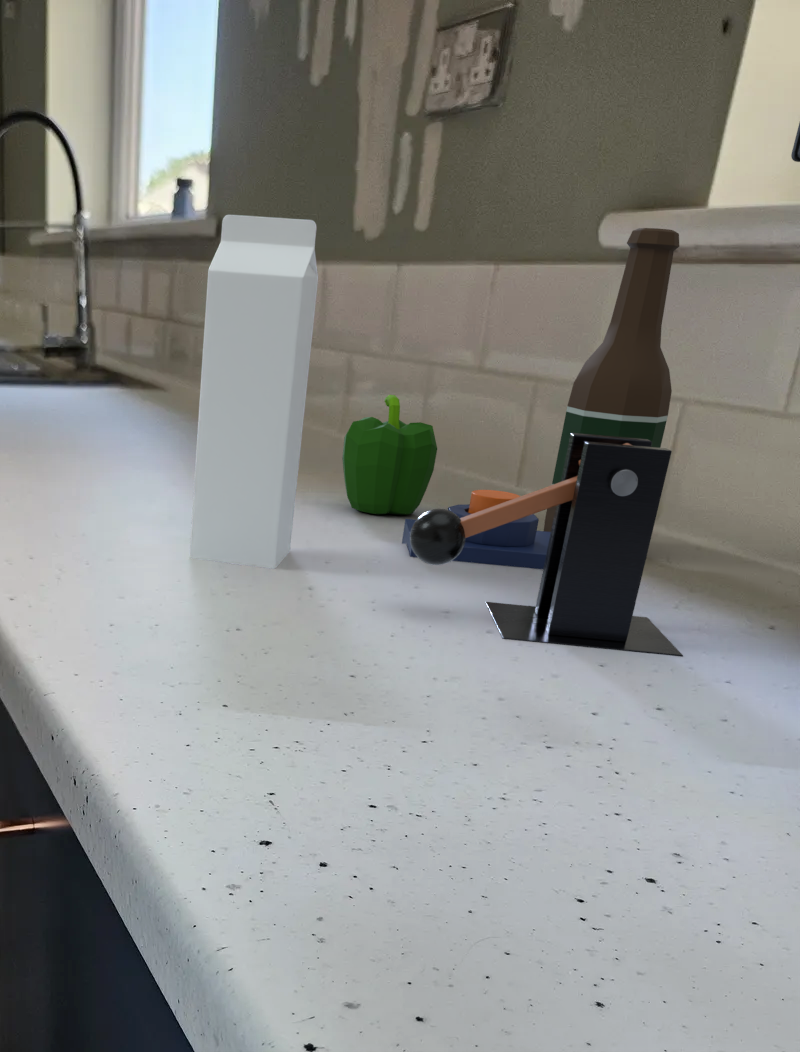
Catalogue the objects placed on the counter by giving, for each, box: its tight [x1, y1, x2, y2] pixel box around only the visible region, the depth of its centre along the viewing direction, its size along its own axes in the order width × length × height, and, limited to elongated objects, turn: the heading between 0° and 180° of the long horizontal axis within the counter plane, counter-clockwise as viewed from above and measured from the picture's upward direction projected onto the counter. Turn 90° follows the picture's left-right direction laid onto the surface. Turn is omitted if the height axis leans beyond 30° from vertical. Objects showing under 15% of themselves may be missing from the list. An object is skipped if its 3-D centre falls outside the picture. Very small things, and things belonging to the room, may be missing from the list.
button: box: [468, 489, 521, 514], centre depth 84 cm, size 4×4×2 cm
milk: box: [188, 214, 319, 570], centre depth 74 cm, size 6×6×22 cm
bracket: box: [485, 433, 684, 658], centre depth 65 cm, size 10×8×12 cm
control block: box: [401, 503, 551, 570], centre depth 85 cm, size 12×9×4 cm
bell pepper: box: [341, 394, 438, 516], centre depth 101 cm, size 8×8×10 cm
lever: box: [410, 443, 631, 566], centre depth 64 cm, size 13×3×3 cm, turn 84°
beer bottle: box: [543, 227, 680, 532], centre depth 90 cm, size 8×8×24 cm
